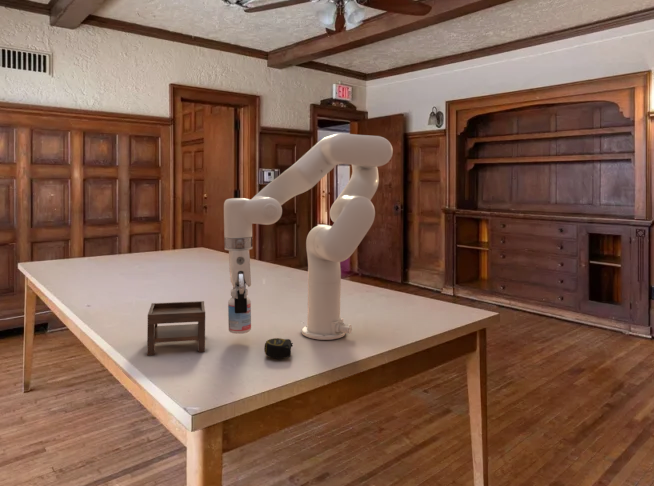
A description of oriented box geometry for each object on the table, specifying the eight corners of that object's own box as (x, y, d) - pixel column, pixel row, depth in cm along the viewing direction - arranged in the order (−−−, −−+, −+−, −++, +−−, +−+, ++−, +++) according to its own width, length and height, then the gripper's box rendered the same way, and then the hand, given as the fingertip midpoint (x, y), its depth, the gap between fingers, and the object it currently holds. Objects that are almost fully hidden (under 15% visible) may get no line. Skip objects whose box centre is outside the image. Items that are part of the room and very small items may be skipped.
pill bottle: (247, 335, 123) (246, 292, 123) (225, 333, 124) (224, 292, 124) (254, 327, 129) (253, 287, 129) (233, 326, 130) (232, 287, 130)
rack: (203, 337, 130) (204, 301, 130) (204, 351, 118) (205, 312, 118) (151, 340, 127) (151, 303, 127) (147, 355, 115) (147, 314, 115)
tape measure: (290, 361, 112) (290, 346, 112) (262, 360, 113) (262, 345, 113) (292, 352, 119) (292, 337, 119) (266, 351, 119) (266, 336, 119)
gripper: (256, 247, 118) (257, 317, 119) (248, 239, 135) (249, 301, 136) (226, 248, 117) (228, 319, 117) (222, 240, 133) (223, 302, 134)
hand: (239, 308), depth 126 cm, fingers closed on pill bottle, 6 cm apart
